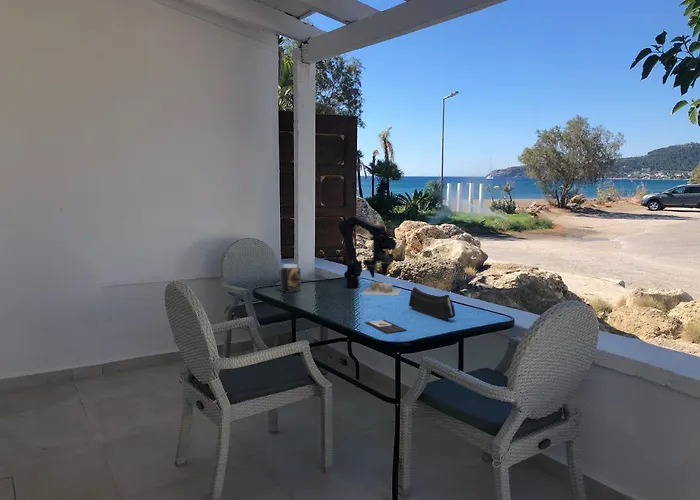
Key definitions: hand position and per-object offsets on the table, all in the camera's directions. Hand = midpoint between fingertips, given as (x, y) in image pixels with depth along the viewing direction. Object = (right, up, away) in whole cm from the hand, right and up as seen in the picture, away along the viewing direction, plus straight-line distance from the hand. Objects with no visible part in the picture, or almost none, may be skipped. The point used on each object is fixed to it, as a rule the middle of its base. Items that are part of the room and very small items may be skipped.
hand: (378, 276), depth 274 cm
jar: (-50, -9, +7) cm, 51 cm away
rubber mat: (+2, -9, -1) cm, 9 cm away
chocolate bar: (-2, -17, -74) cm, 76 cm away
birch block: (-3, -5, +3) cm, 7 cm away
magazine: (+20, -15, -54) cm, 59 cm away
